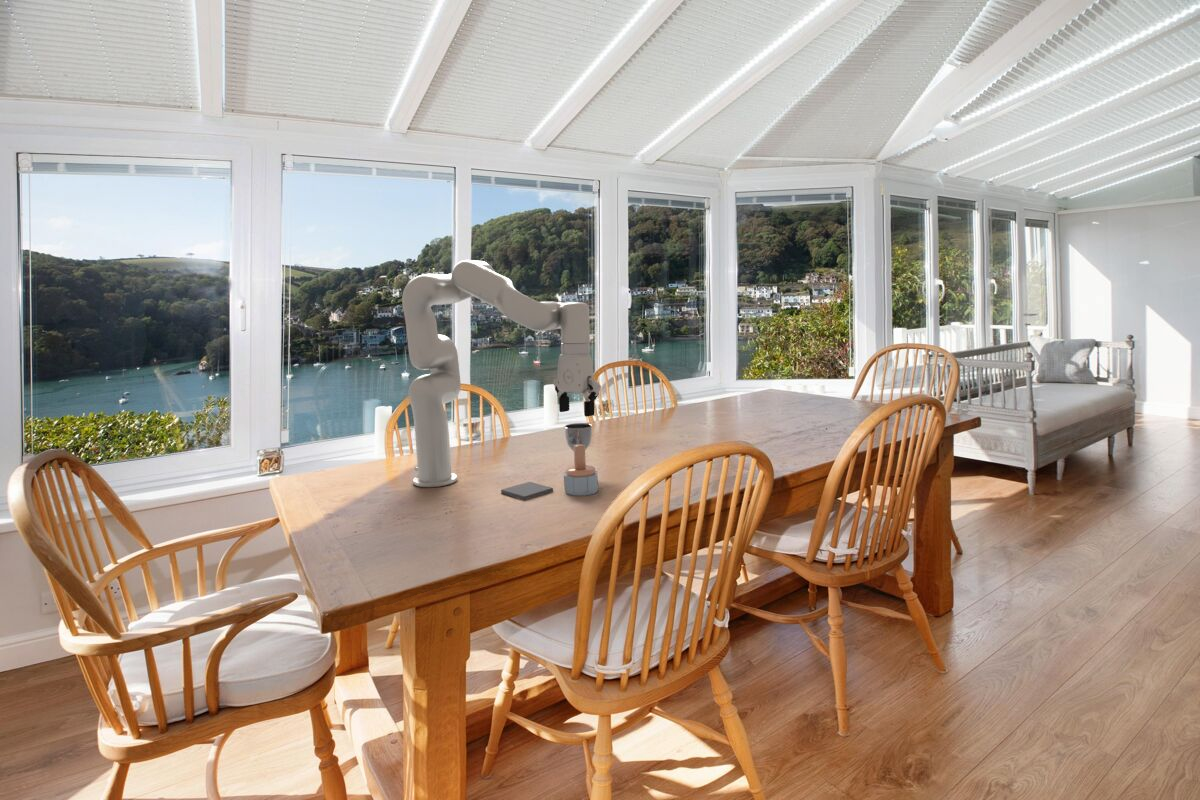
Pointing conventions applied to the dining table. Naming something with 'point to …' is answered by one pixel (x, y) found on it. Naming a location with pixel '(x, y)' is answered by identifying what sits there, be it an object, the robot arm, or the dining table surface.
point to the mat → (527, 490)
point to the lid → (580, 464)
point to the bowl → (581, 485)
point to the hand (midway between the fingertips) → (576, 413)
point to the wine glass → (578, 434)
